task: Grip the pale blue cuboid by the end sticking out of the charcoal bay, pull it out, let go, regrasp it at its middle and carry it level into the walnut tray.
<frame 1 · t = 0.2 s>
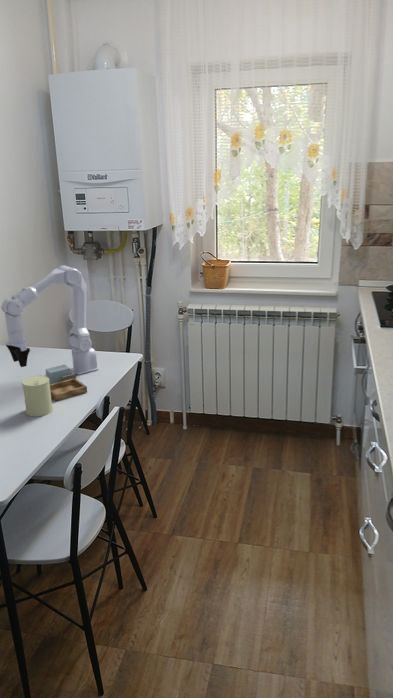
hand: (20, 363, 210), 10 cm above the table, tool pointing down, fingers open, 7 cm apart
can: (39, 411, 193), on the table
pale blue cuboid: (59, 382, 217), on the table
bay: (65, 380, 218), on the table
tray: (65, 392, 207), on the table
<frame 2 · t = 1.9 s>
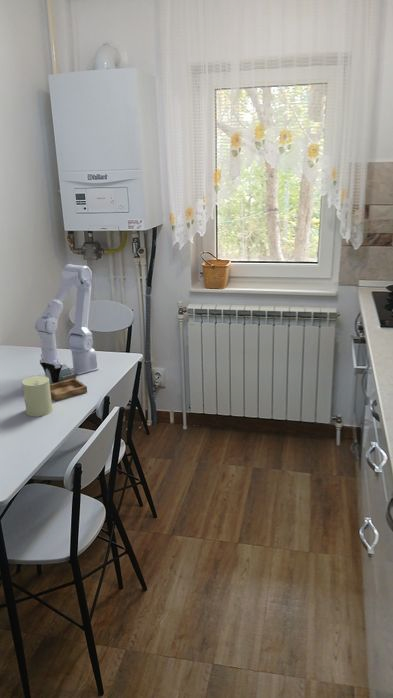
hand: (52, 380, 215), 2 cm above the table, tool pointing down, fingers closed on pale blue cuboid, 5 cm apart
pale blue cuboid: (59, 382, 217), on the table, touching gripper
everything else where it was.
when the fingers open (2 cm above the table, at t = 4.1 s): pale blue cuboid stays where it is, on the table.
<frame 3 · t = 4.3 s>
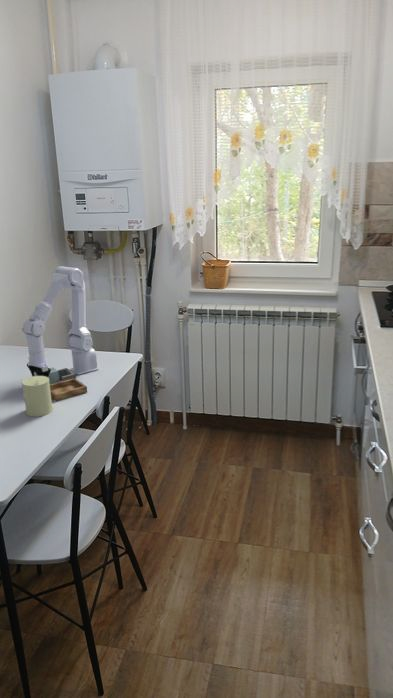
hand: (40, 383, 212), 2 cm above the table, tool pointing down, fingers open, 7 cm apart
pale blue cuboid: (47, 385, 214), on the table
everything else where it was.
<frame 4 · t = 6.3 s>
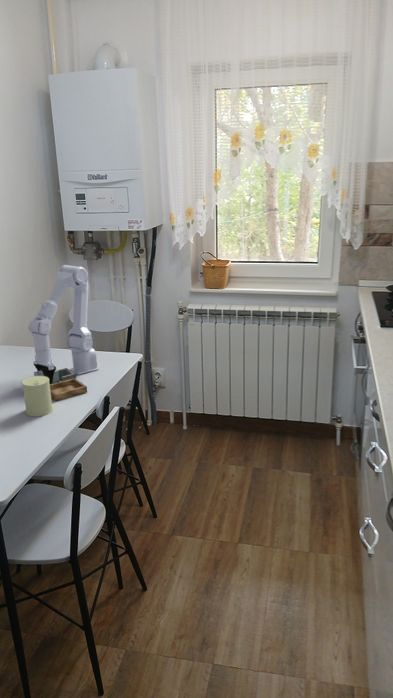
hand: (46, 381, 213), 2 cm above the table, tool pointing down, fingers closed on pale blue cuboid, 5 cm apart
pale blue cuboid: (47, 385, 214), on the table, touching gripper
everything else where it was.
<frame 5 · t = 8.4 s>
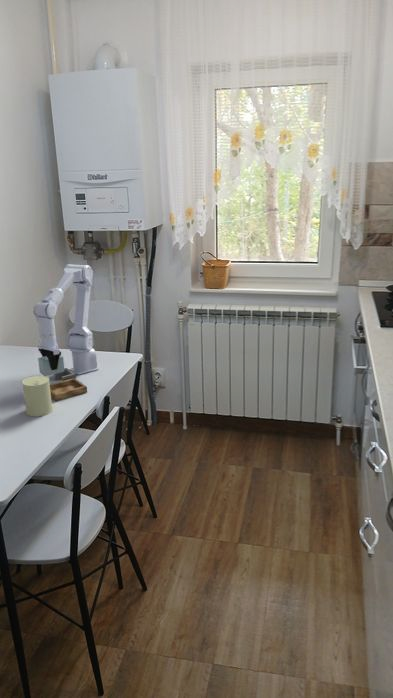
hand: (51, 367, 208), 9 cm above the table, tool pointing down, fingers closed on pale blue cuboid, 5 cm apart
pale blue cuboid: (52, 372, 209), point 7 cm above the table, touching gripper
everything else where it was.
when the fingers open (3 cm above the table, at t = 10.5 s): pale blue cuboid stays where it is, resting on tray.
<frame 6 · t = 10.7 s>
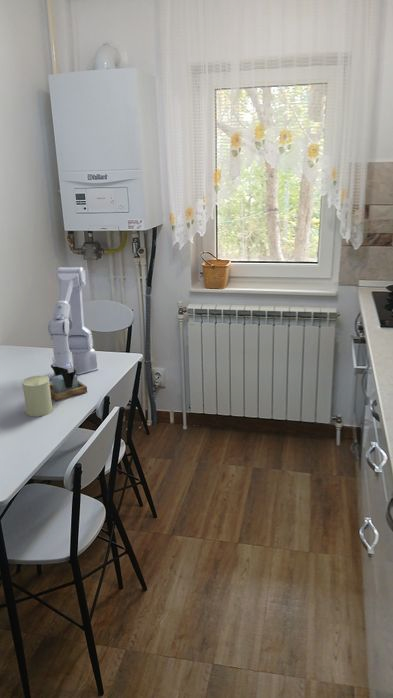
hand: (65, 384, 206), 3 cm above the table, tool pointing down, fingers open, 7 cm apart
pale blue cuboid: (66, 391, 207), resting on tray
everything else where it was.
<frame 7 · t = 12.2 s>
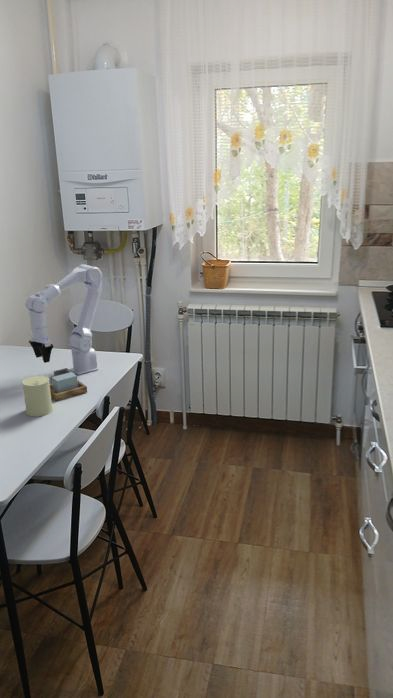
hand: (42, 359, 215), 9 cm above the table, tool pointing down, fingers open, 7 cm apart
nothing on the table moved.
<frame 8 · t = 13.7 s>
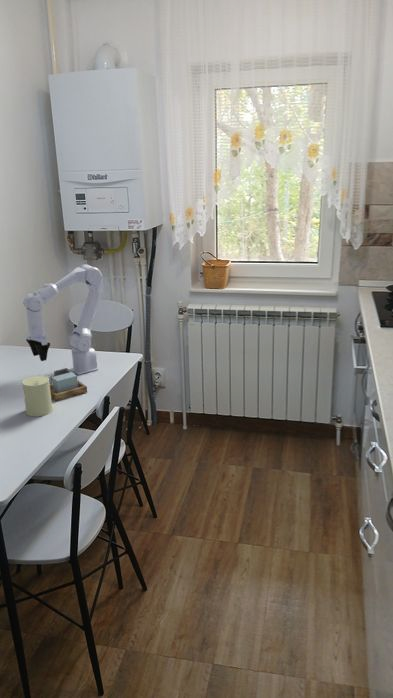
hand: (40, 357, 217), 9 cm above the table, tool pointing down, fingers open, 7 cm apart
nothing on the table moved.
at the end: pale blue cuboid 0.1 cm off-centre on the tray, point 0.5 cm above the tray's base; pale blue cuboid tilted 0°; the gripper is holding nothing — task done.
